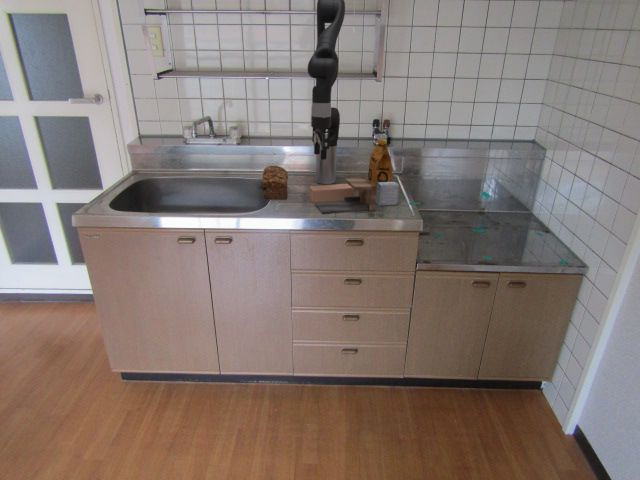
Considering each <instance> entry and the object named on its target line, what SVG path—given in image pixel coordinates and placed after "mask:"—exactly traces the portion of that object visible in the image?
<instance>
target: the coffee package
mask: <svg viewBox="0 0 640 480" xmlns="http://www.w3.org/2000/svg"><path fill="white" fill-rule="evenodd" d="M382 139H383V138H382ZM382 139H381V138H377V140H376V143H377V145H376V146H375V148H374V149H373V150H372V152H371V154H370V156H369V163H368V164H369V165H368V172H367V179H368V180H369V181H370V182H372V183H373V184H374V185H376V193H377V183H378V182H393V181H392V179H393V168H392V167H393V166H392V159H391V154H390V151H389V149H387V148H388V146H387V142H385V141H383V140H382Z"/></svg>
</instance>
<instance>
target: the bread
mask: <svg viewBox="0 0 640 480" xmlns="http://www.w3.org/2000/svg"><path fill="white" fill-rule="evenodd" d="M288 179H289V177H288V172H287V170H286V169H285V168H284V167H281V166H279V165H269V166H268V165H267V166H266V167H265V168H264V169H263V171H262V179H261V180H262V181H261V185H262V186H261V187H262V196H263V199H265V200H273V199H274V200H275V199H277V200H287V196H288Z"/></svg>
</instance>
